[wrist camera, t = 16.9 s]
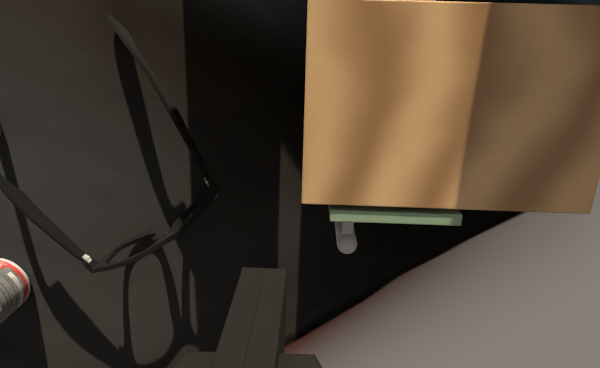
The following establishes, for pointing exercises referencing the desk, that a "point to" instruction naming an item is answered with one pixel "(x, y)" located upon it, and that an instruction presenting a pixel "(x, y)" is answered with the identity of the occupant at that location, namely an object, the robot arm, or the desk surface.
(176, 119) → the glasses
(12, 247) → the desk surface
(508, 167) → the cabinet
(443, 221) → the sliding door
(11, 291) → the pill bottle
